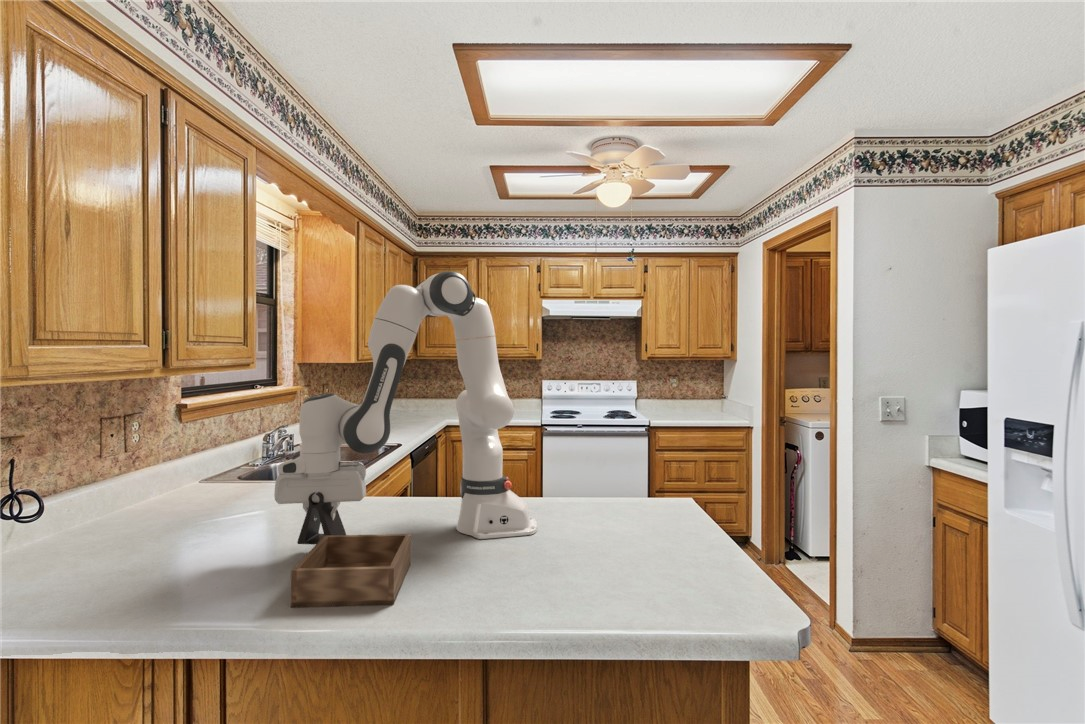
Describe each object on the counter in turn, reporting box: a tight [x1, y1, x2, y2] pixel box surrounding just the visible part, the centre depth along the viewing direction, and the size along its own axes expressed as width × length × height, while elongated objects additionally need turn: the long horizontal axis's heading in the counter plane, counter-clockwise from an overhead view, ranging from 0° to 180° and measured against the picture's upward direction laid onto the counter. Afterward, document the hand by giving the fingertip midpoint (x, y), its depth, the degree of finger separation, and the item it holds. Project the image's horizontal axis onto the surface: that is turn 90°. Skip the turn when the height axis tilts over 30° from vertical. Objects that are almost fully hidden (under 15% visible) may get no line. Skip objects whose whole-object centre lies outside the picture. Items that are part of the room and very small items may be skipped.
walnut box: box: [290, 533, 412, 608], centre depth 108 cm, size 19×19×7 cm
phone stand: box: [296, 492, 347, 546], centre depth 123 cm, size 9×6×12 cm, turn 83°
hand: (321, 520), depth 123 cm, fingers closed on phone stand, 3 cm apart
